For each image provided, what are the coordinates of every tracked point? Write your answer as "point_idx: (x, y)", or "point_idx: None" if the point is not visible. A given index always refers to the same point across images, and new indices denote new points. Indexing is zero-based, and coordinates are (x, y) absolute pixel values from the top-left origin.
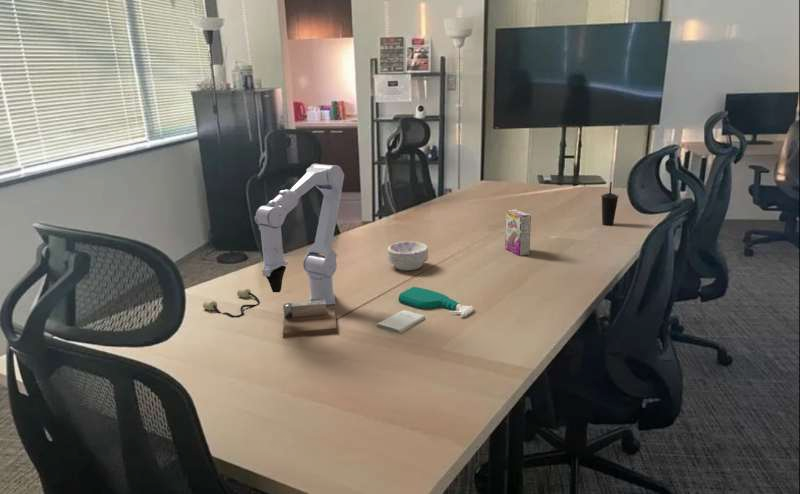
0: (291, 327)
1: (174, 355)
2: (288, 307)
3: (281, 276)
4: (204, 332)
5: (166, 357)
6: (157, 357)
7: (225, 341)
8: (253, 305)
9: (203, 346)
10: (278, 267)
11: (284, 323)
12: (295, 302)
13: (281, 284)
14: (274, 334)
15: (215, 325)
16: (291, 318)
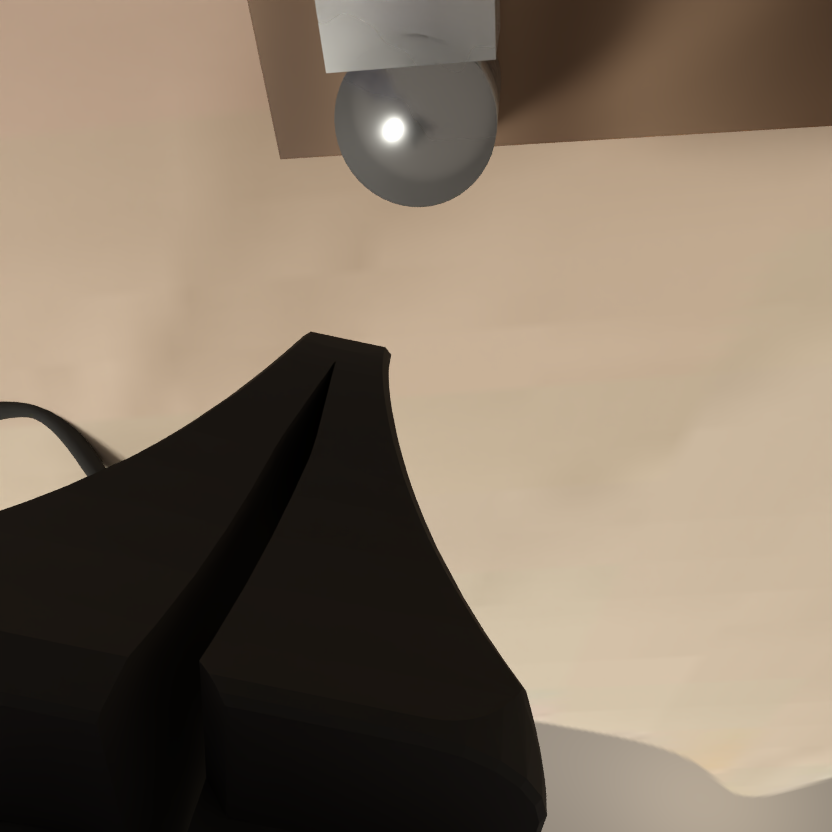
0: (820, 6)
1: (812, 730)
2: (495, 112)
3: (296, 535)
4: (530, 648)
5: (819, 750)
6: (796, 772)
7: (732, 551)
8: (79, 444)
9: (755, 641)
10: (23, 829)
11: (641, 125)
12: (317, 2)
13: (283, 384)
14: (761, 211)
15: None
16: (499, 43)
